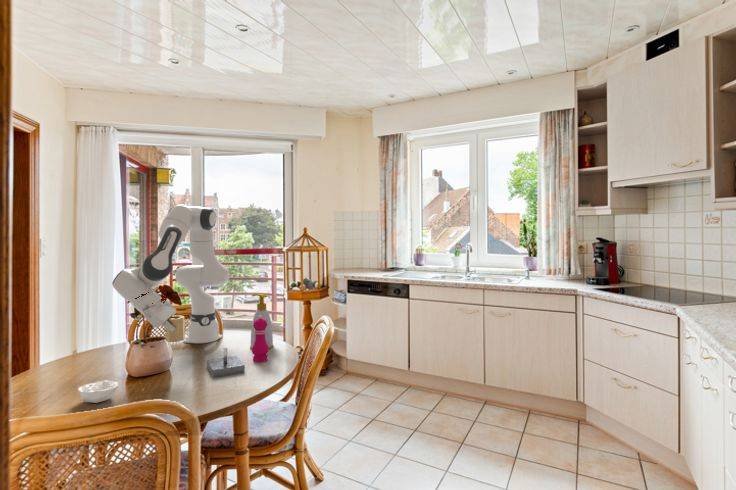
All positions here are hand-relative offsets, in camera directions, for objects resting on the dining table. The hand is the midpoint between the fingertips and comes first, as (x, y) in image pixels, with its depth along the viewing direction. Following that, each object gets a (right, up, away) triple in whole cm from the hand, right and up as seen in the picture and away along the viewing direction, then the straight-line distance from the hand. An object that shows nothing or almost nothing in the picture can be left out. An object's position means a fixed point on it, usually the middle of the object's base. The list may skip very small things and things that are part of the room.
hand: (176, 327), depth 160 cm
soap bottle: (+24, -18, +37) cm, 47 cm away
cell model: (-15, -20, -24) cm, 35 cm away
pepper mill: (+28, -18, +18) cm, 38 cm away
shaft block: (+17, -19, +6) cm, 26 cm away
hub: (-1, -5, 0) cm, 5 cm away
